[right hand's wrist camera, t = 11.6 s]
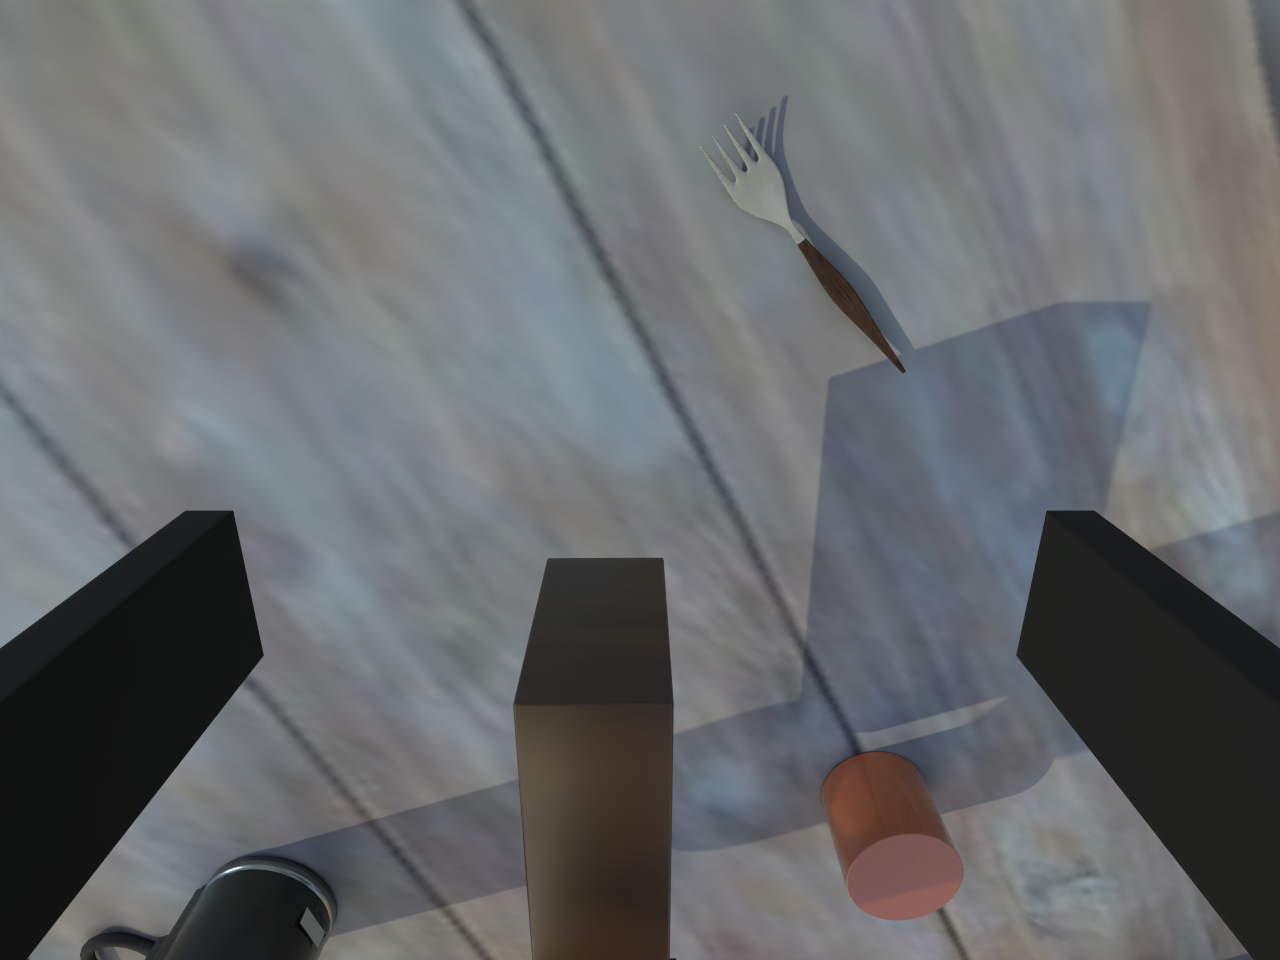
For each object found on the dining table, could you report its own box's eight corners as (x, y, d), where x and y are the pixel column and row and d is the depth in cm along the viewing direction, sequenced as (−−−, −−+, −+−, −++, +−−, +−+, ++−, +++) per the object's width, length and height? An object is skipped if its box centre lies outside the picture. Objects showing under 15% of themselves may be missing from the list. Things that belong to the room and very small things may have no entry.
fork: (881, 386, 43) (892, 395, 41) (693, 150, 38) (696, 149, 36) (921, 354, 42) (934, 363, 40) (734, 112, 38) (739, 108, 36)
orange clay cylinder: (867, 734, 51) (900, 815, 45) (945, 782, 53) (988, 867, 46) (800, 802, 53) (822, 889, 47) (876, 846, 55) (909, 936, 48)
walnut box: (547, 557, 33) (512, 704, 24) (663, 557, 33) (673, 703, 24) (567, 953, 42) (548, 1174, 33) (659, 953, 42) (666, 1173, 33)
